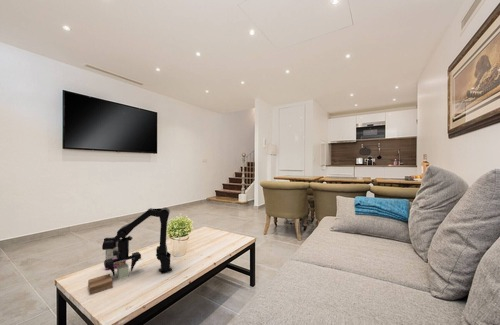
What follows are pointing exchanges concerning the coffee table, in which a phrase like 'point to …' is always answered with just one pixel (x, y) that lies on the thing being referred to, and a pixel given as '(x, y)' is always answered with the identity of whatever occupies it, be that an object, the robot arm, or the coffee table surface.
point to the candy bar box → (113, 257)
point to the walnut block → (100, 284)
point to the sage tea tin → (122, 271)
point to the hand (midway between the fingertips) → (122, 273)
